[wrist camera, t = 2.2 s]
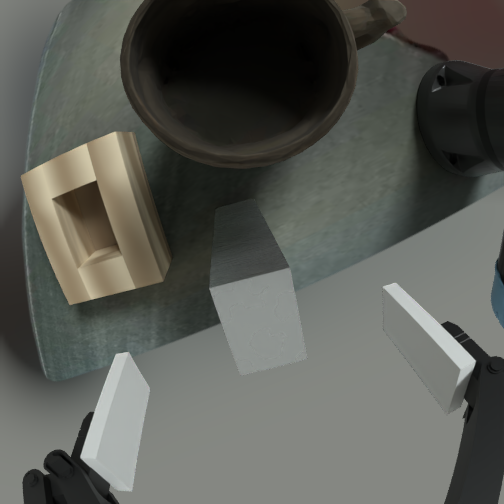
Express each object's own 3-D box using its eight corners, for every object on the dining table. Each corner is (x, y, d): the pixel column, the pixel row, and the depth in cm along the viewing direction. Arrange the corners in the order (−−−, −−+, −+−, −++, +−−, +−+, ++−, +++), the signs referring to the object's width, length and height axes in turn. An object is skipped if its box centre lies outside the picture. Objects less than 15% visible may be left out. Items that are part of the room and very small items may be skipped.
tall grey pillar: (253, 198, 32) (289, 267, 15) (266, 251, 34) (307, 358, 17) (215, 208, 32) (209, 288, 15) (230, 260, 34) (240, 375, 17)
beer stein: (222, 175, 31) (223, 234, 12) (158, 95, 27) (66, 38, 8) (341, 93, 28) (476, 59, 10) (281, 15, 25) (349, -99, 6)
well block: (134, 132, 28) (115, 131, 22) (172, 257, 33) (163, 281, 28) (49, 168, 28) (20, 175, 22) (89, 280, 33) (69, 305, 27)
